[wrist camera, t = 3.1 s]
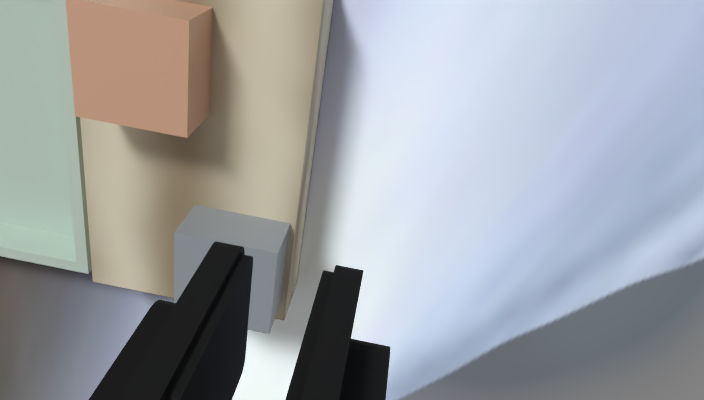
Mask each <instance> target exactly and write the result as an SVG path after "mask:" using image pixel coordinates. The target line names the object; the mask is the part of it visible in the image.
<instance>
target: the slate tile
mask: <svg viewBox="0 0 704 400" xmlns="http://www.w3.org/2000/svg"><path fill="white" fill-rule="evenodd" d="M290 224H291V223H286V222H281V221H276V220H271V219H266V218H261V217H256V216H251V215H246V214H241V213H236V212H230V211H225V210H220V209H215V208H210V207H205V206H200V205H194V207H193V208H192V209H191V211H190V212H189V213H188V215H187V216H186V217H185V219H184V220H183V221H182V223H181V224H180V225H179V227H178V228H177V229H176V231H175V232H174V303H176V302H177V301H178V299H179V298H180V296H181V294H182V293H183V291H184V289H185V288H186V286H187V285H188V283H189V281H190V280H191V278H192V276H193V275H194V273H195V272H196V270H197V268H198V267H199V265H200V264H201V262H202V260H203V259H204V257H205V255H206V254H207V252H208V251H209V249H210V247H211V246H212V244H213V243H214V242H216V241H217V242H222V243H227V244H232V245H237V246H242V247H244V250H245V255H249V256H252V257H253V270H252V282H251V294H250V306H249V318H248V330H253V331H258V332H263V333H268V334H269V332H270V330H271V327H272V324H273V322H274V319H275V316H276V314H277V311H278V308H279V305H280V303H281V300H282V291H283V283H284V274H285V266H286V257H287V249H288V240H289V232H290Z"/></svg>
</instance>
